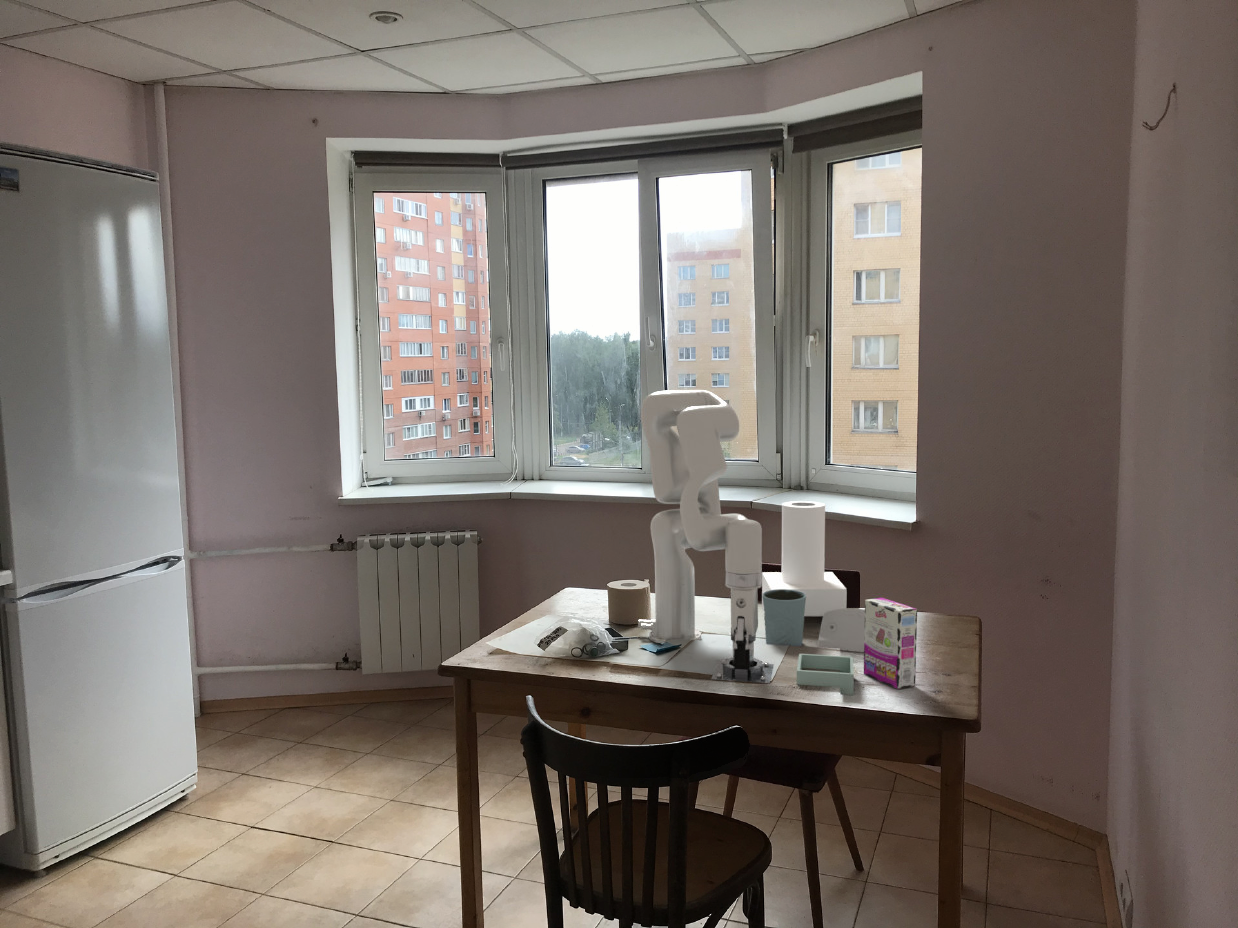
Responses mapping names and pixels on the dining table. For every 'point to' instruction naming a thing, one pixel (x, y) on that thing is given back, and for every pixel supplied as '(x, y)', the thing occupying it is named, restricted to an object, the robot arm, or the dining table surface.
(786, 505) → the paper towel holder
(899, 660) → the candy bar box
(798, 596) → the teal cup
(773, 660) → the dining table surface
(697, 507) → the robot arm
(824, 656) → the parts bin
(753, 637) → the clear and grey cylinder
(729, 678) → the stud mount
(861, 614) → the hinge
